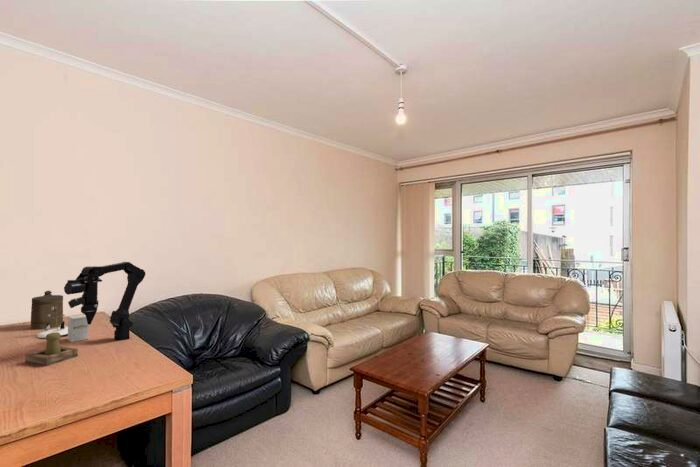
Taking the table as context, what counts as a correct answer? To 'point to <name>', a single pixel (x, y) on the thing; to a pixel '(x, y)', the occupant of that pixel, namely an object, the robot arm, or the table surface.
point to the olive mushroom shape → (52, 343)
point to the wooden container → (46, 310)
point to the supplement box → (77, 328)
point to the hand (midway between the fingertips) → (89, 322)
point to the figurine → (61, 330)
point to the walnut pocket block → (51, 356)
